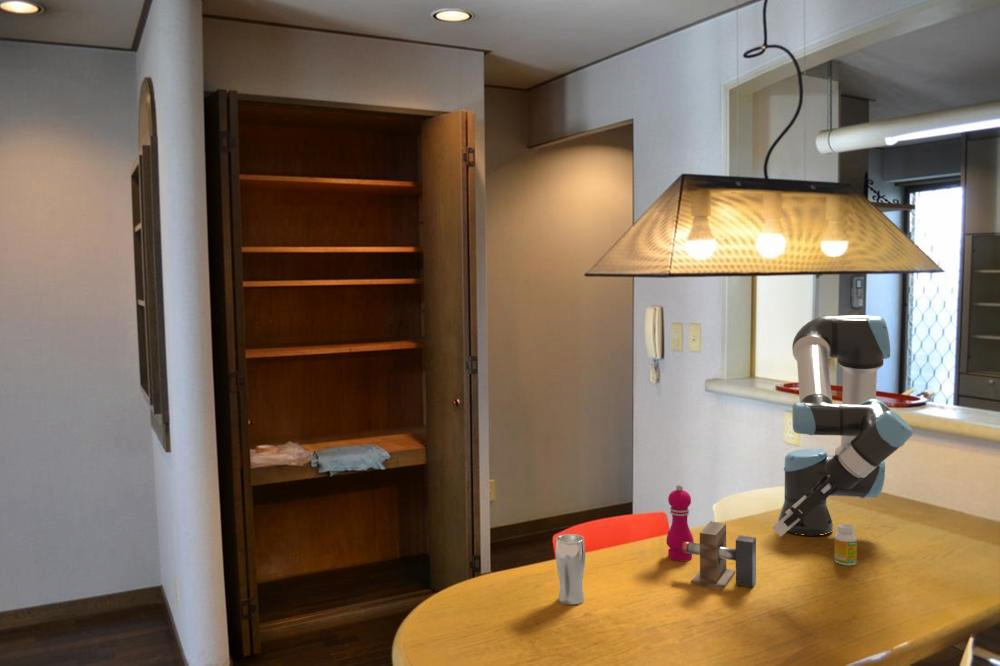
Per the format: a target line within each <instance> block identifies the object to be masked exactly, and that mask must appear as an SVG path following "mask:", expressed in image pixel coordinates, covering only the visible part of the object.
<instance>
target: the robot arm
mask: <svg viewBox="0 0 1000 666" xmlns="http://www.w3.org/2000/svg"><path fill="white" fill-rule="evenodd" d="M890 343H891V342H890V334H889V330H888V326H887V321H886V320H885V319H884V317H882V316H879V315H877V316H876V315H867V314H865V315H863V314H862V315H823V316H818V317H817V318H813V319H811V320H810V321H808V322H807V323H806V324H804V325H803V326H802V327H801V328H800V329H799V330H798V331H797V333H796V334H795V336H794V338H793V340H792V346H791V347H792V356H793V357H794V360H795V361H796V363H797V364H796V365H797V379H798V380H797V381H798V392H799V395H798V396H799V402H795V403H794V404H793V405H792V411H791V412H792V417H791V418H792V431H793V432H794V433H796V434H801V435H809V436H813V435H814V436H841V438H840V445H839V446H838V447H836V448H835V452H834V453H835V454H834V455H828V452H827V451H826V450H825V449H822V448H803V449H796V450H793V451H790V452H789V453H787V454H786V456H785V457H784V468H783V471H784V501H783V505H782V507H781V511H780V512H779V516H778V520H777V521H778V522H776V523H775V524H774V525H773V526H771V529H772V530H773V531H775V533H776V534H778V536H779V537H782V536H784V535H785V534H786V533H788V532H792V533H797V534H804V535H820V534H825V533H828V532H831V531H832V530H833V531H834V527H833V526H834V524H833V519H832V517H831V514H830V511H829V508H828V505H827V499H828V498H829V497H831V496H833V497H848V498H860V499H865V498H867V499H868V498H870V499H871V498H872V499H874V498H878V497H879V496H880V495H881V494H882V491H883V488H884V485H885V484H884V483H885V476H886V473H885V472H886V462H885V460H886V459H887V458H889V457H890V456H891V455H893V454H894V453H895V452H896V451H897V450H898V449H900V448H902V447H903V446H904V445H905V444H906V442H907V441H908V440H909V439H910V438H911V437H912V436H913V429H912V427H911V426H910V425H909V423H908V422H907V421H906V420H905V419H903V418H902V417H901V416H900V415H899V414H898V413H897V412H895V411H893V410H891V409H890V408H889V407H888V405H887V404H886V403H885V402H884V401H882V400H879V399H877V382H878V381H877V379H878V378H877V377H878V376H877V375H878V371H879V369H881V368H882V367H883V366H884V361H885V360H886V359H889V358H890V357H891V344H890ZM829 358H831V359H832V358H834V359H837V364H838V365H839V366H840V368H842V403H834V402H833V394H832V387H831V386H832V385H831V379H830V378H831V377H830V370H829V363H828V362H829V361H828V359H829ZM884 359H885V360H884ZM787 531H788V532H787ZM833 531H832V532H833Z"/></svg>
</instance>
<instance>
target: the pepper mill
mask: <svg viewBox="0 0 1000 666" xmlns="http://www.w3.org/2000/svg"><path fill="white" fill-rule="evenodd" d="M675 488H676V489H675V490H673V491H671V492H670V493H669V495H668V499H667V500H668V504H669V505H670V506H671V507H670V508H669V510H670V514H671V517H672V520H671V525H670V528H669V530H668V532H667V535H666V540H665V541H666V545H667V546H668V547H669V549H668V554H667V555H668V558H669V559H670V560H673V561H676V562H677V561H678V562H688V561H690V560H692V559H693V554H689V553H683V552H682V545H683V542H684V541H685V542H692V543H695V542H694V536H693V534H692V531H691V529H690V527H689V523H688V517H689V516H688V515H689V514H690V508H689V507H690V505H691V504H692V497H691V495H690V494H689V493H688V491H686V490H683V489H684V487H683V485H682V484H677V485H676V487H675ZM687 560H688V561H687Z"/></svg>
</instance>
